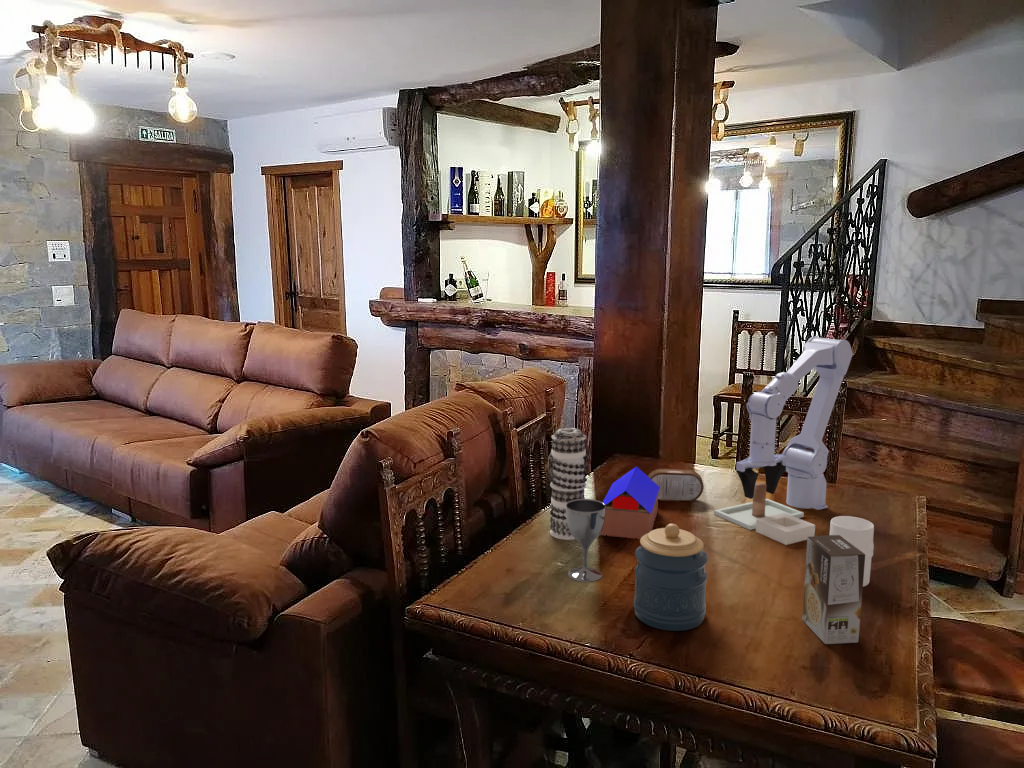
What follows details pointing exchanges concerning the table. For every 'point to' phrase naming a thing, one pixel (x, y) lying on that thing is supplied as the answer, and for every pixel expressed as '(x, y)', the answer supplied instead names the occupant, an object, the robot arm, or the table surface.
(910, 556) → the table surface
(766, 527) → the cup block
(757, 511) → the pin
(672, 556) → the canister
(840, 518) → the mug
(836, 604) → the coffee box
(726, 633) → the table surface
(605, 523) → the house
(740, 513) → the tray
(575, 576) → the wine glass
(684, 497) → the tin
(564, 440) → the decorative candle
